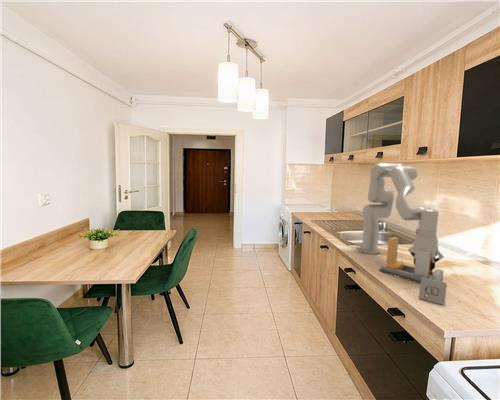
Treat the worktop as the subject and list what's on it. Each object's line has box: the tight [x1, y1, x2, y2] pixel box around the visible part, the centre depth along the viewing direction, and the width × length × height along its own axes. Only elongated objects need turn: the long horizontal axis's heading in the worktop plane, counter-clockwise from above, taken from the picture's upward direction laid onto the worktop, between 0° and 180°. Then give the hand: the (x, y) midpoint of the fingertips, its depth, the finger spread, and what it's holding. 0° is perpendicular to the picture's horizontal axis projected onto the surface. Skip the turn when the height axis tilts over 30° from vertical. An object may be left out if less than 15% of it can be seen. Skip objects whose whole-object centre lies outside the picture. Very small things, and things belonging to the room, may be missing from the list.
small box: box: [414, 250, 433, 278], centre depth 143 cm, size 8×6×13 cm
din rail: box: [379, 264, 444, 284], centre depth 148 cm, size 26×14×5 cm, turn 42°
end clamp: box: [385, 236, 405, 270], centre depth 153 cm, size 6×9×17 cm, turn 132°
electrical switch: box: [418, 278, 448, 306], centre depth 122 cm, size 9×5×9 cm, turn 52°
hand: (423, 267), depth 144 cm, fingers closed on small box, 6 cm apart
